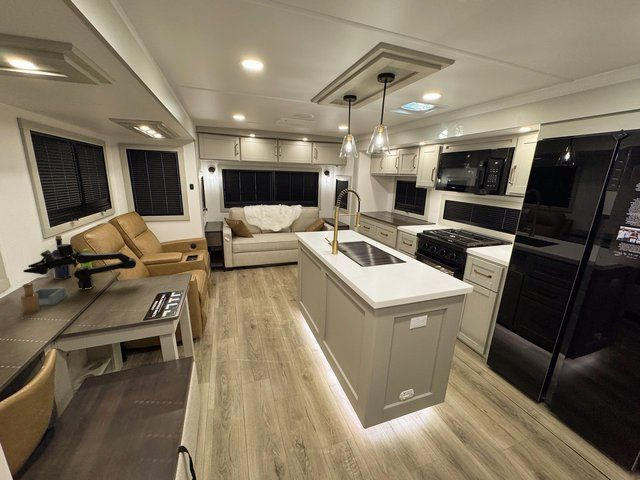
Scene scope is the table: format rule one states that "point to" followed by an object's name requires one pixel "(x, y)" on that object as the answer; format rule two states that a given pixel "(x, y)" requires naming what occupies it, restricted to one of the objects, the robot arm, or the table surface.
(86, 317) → the table surface
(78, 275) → the robot arm
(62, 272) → the bottle
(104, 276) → the table surface
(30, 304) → the amber bottle
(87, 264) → the soap dispenser
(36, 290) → the u rest
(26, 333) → the table surface
